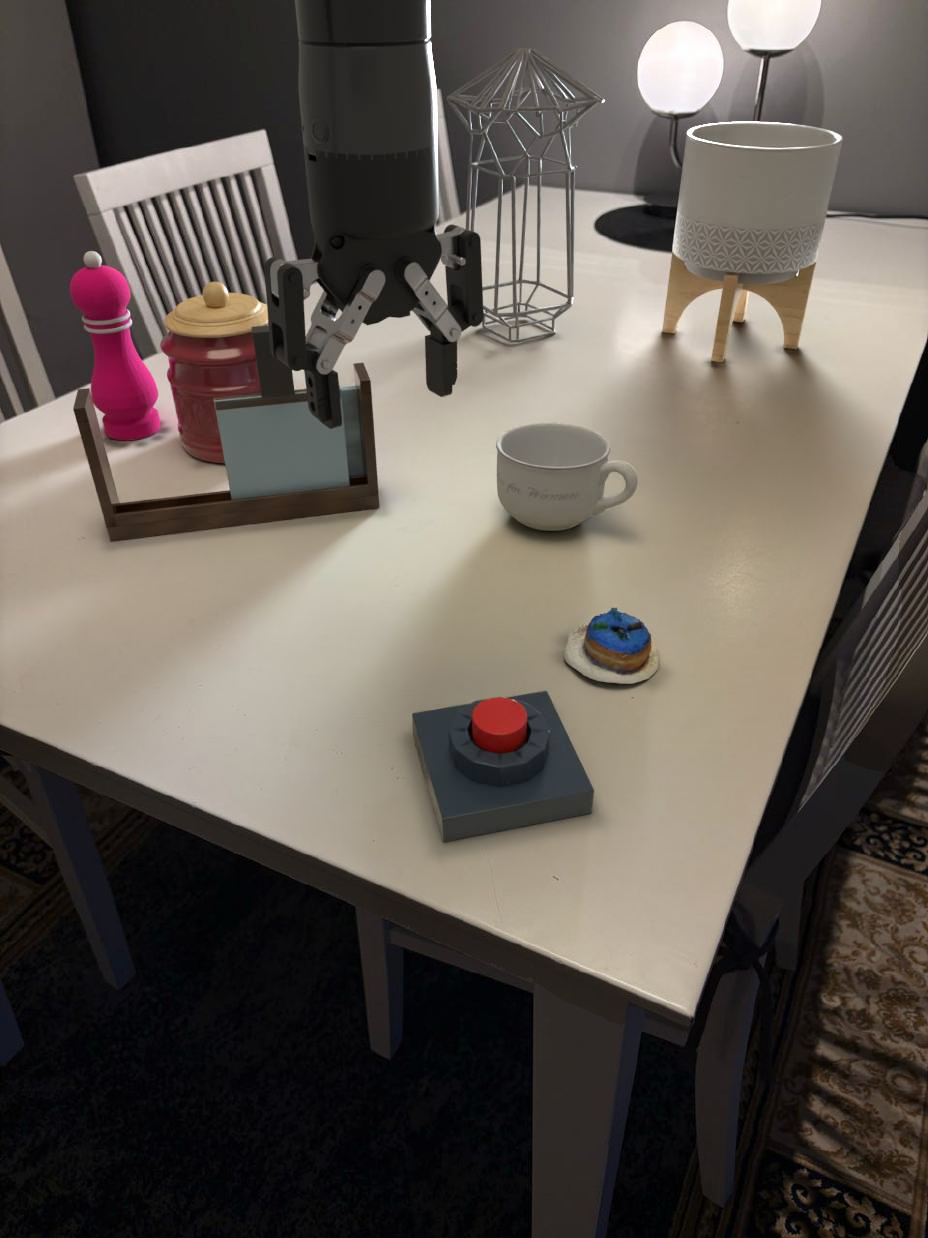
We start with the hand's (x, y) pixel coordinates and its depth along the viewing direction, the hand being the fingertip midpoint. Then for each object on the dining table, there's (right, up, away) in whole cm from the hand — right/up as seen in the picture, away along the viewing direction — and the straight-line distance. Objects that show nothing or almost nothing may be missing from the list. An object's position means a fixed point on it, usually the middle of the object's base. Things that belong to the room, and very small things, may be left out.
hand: (385, 407), depth 61 cm
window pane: (-12, -2, +29) cm, 32 cm away
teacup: (+15, -5, +29) cm, 33 cm away
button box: (+8, -25, +2) cm, 26 cm away
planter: (+43, +26, +69) cm, 85 cm away
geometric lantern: (+13, +28, +72) cm, 79 cm away
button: (+8, -22, 0) cm, 23 cm away
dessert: (+17, -17, +12) cm, 27 cm away
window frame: (-16, -3, +30) cm, 35 cm away
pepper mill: (-34, +8, +46) cm, 58 cm away
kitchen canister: (-20, +6, +44) cm, 49 cm away
